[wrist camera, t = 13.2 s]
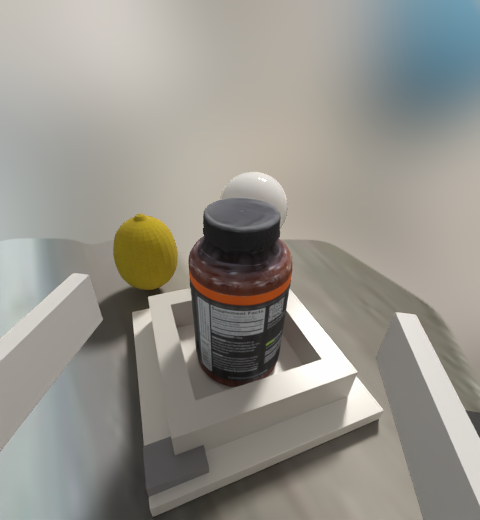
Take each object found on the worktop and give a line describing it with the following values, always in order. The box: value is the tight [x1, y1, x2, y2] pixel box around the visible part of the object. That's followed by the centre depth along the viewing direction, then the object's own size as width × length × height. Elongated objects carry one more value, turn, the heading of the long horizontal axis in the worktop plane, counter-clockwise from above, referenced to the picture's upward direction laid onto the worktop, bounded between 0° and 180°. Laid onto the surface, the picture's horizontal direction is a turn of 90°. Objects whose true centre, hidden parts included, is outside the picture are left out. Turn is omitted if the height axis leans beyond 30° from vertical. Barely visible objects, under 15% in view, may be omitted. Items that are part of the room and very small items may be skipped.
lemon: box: [114, 214, 177, 290], centre depth 26 cm, size 6×6×8 cm
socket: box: [132, 288, 383, 517], centre depth 21 cm, size 14×14×4 cm
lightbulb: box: [220, 172, 288, 228], centre depth 28 cm, size 6×6×11 cm
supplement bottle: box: [189, 198, 292, 387], centre depth 18 cm, size 6×6×11 cm
